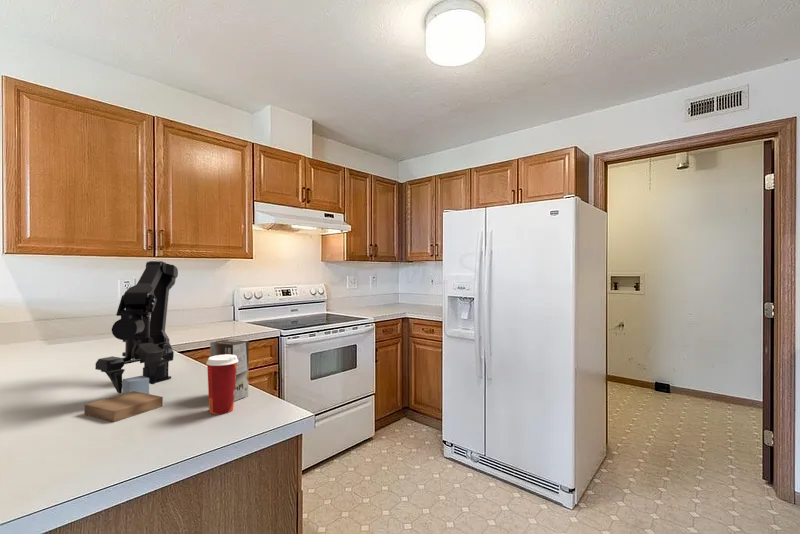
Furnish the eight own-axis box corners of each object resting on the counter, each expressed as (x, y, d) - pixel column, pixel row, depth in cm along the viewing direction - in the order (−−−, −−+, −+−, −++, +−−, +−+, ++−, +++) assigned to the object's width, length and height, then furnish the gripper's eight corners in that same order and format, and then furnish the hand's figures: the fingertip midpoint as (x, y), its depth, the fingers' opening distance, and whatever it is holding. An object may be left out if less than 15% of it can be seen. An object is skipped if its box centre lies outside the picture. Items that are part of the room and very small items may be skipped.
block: (141, 392, 114) (142, 375, 114) (148, 395, 111) (149, 378, 111) (122, 396, 110) (122, 379, 110) (128, 400, 107) (129, 382, 107)
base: (133, 400, 106) (133, 391, 106) (162, 406, 102) (162, 396, 102) (84, 414, 95) (84, 404, 95) (114, 422, 91) (114, 411, 91)
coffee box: (249, 395, 111) (250, 340, 111) (232, 402, 105) (233, 344, 105) (226, 391, 114) (226, 338, 115) (208, 398, 109) (209, 342, 109)
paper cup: (243, 407, 101) (244, 355, 101) (221, 418, 94) (222, 361, 94) (220, 404, 104) (221, 353, 104) (197, 413, 96) (198, 358, 97)
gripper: (121, 341, 98) (119, 402, 97) (186, 331, 115) (185, 383, 115) (94, 338, 102) (93, 396, 102) (161, 329, 119) (160, 379, 119)
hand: (136, 388), depth 109 cm, fingers open, 9 cm apart
